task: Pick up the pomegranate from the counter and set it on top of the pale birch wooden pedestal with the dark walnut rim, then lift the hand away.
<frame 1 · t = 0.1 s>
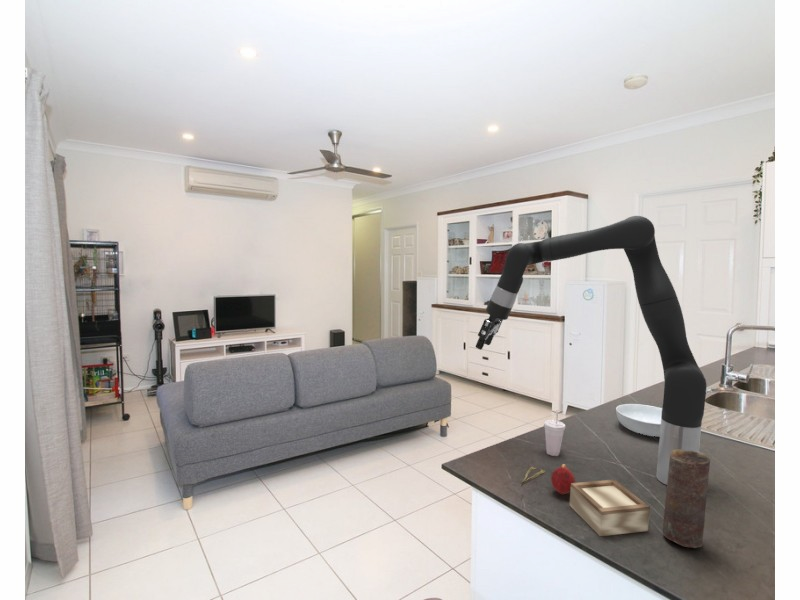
hand: (482, 346, 144), 31 cm above the counter, tool tilted 20°, fingers open, 8 cm apart
pomegranate: (562, 494, 112), on the counter
pedestal: (606, 517, 103), on the counter
smoothie: (552, 453, 136), on the counter
serving bowl: (647, 432, 154), on the counter
rusty metal cylinder: (681, 542, 94), on the counter
tongs: (531, 480, 121), on the counter
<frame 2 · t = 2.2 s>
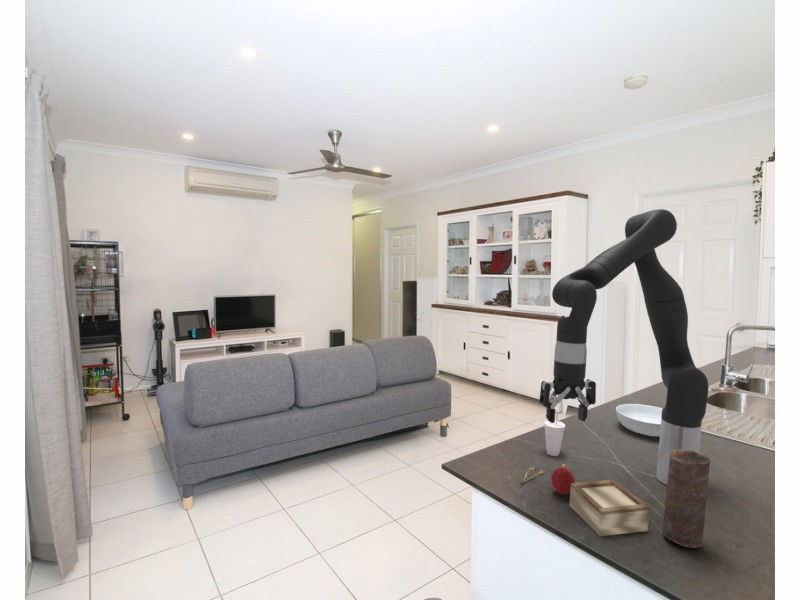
hand: (566, 421, 110), 20 cm above the counter, tool pointing down, fingers open, 8 cm apart
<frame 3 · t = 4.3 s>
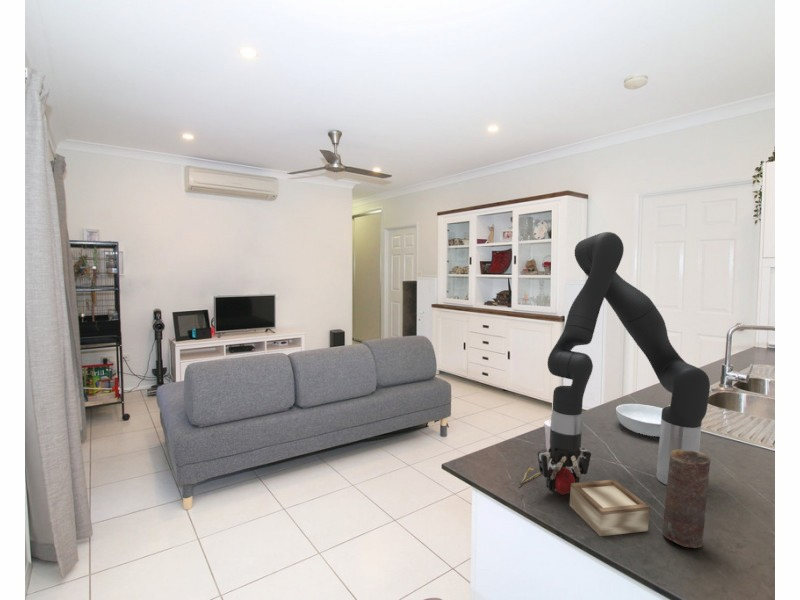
hand: (562, 489, 112), 1 cm above the counter, tool pointing down, fingers closed on pomegranate, 5 cm apart
pomegranate: (562, 494, 112), on the counter, touching gripper
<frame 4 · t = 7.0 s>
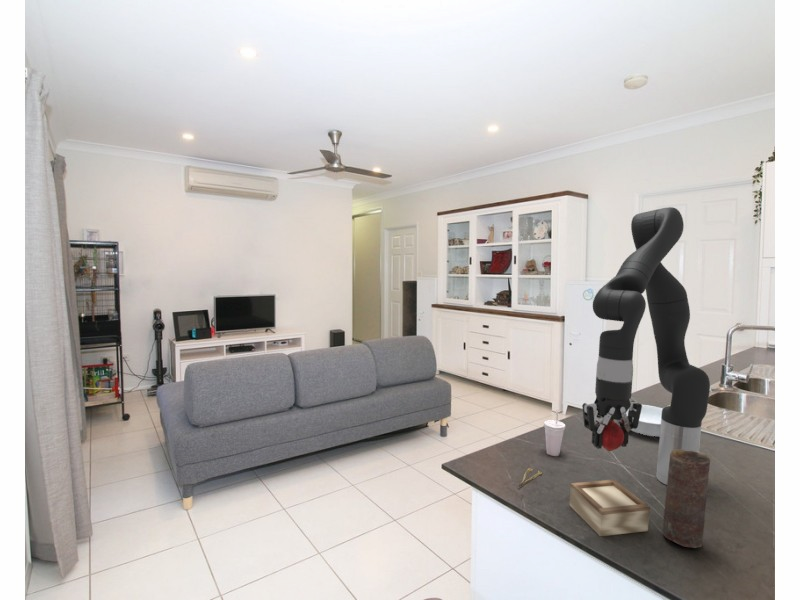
hand: (609, 446, 101), 17 cm above the counter, tool pointing down, fingers closed on pomegranate, 5 cm apart
pomegranate: (609, 451, 102), point 16 cm above the counter, touching gripper
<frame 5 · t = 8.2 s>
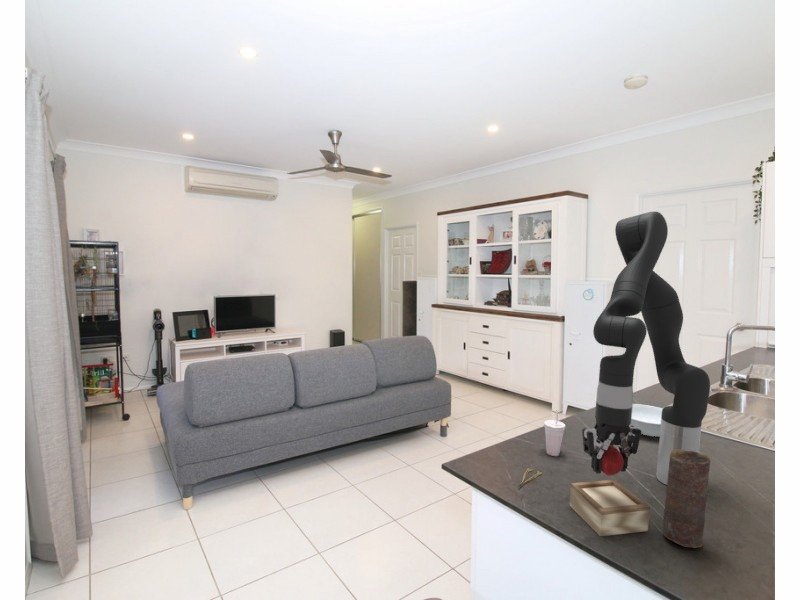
hand: (608, 470, 102), 11 cm above the counter, tool pointing down, fingers closed on pomegranate, 5 cm apart
pomegranate: (608, 476, 102), point 10 cm above the counter, touching gripper
when the fingers open (7 cm above the counter, at t = 9.5 s): pomegranate drops 1 cm, resting on pedestal.
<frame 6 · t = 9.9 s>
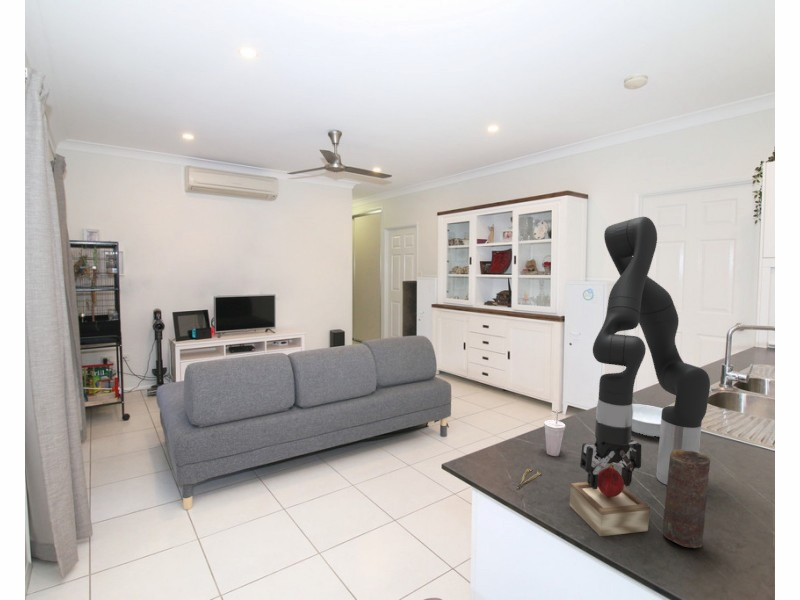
hand: (609, 486, 102), 8 cm above the counter, tool pointing down, fingers open, 8 cm apart
pomegranate: (608, 498, 102), point 5 cm above the counter, touching pedestal
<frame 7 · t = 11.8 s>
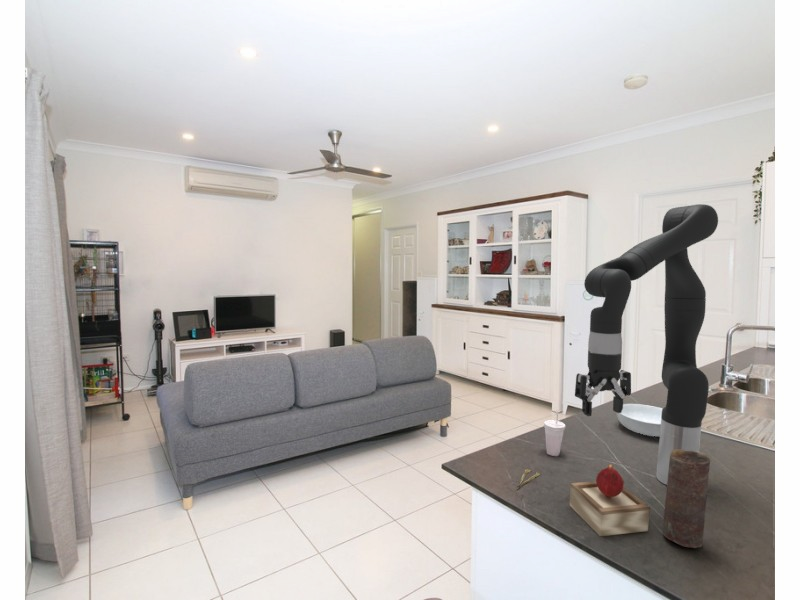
hand: (602, 413, 108), 23 cm above the counter, tool pointing down, fingers open, 8 cm apart
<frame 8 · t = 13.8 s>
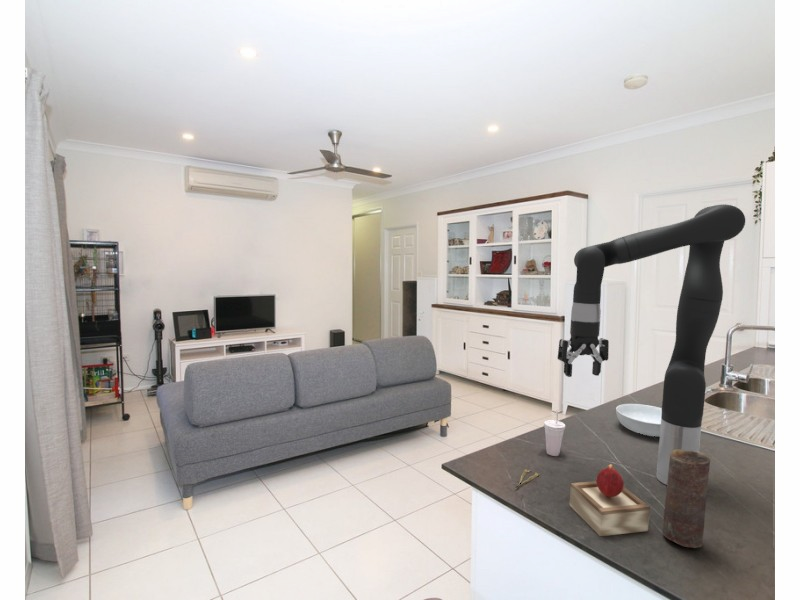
hand: (581, 375, 122), 28 cm above the counter, tool pointing down, fingers open, 8 cm apart
at the end: pomegranate inside the target area on the pedestal (0.2 cm from its centre), point 4.8 cm above the pedestal's base; the gripper is holding nothing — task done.
